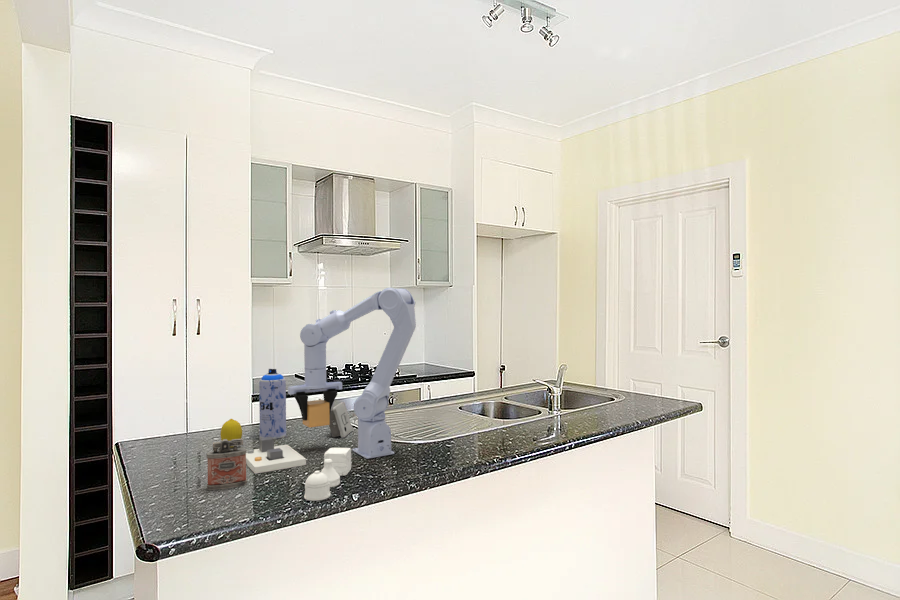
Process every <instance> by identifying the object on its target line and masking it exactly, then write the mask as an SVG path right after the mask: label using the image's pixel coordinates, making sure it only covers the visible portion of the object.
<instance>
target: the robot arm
mask: <svg viewBox="0 0 900 600" xmlns="http://www.w3.org/2000/svg"><path fill="white" fill-rule="evenodd" d="M415 307H416V301H415V299H414V296H413V295H412V293H411V292H410V291H409V289H407V288H403V287H402V288H401V287H399V288H398V287H397V288H396V287H395V288H394V287H386V288H384V289H382V290H380V291H377V292H375V293H373V294H372V295H369V296H368V297H366V298H364V299H363V300H361V301H360V302H358V303H356V304H354V305H353V306H352V307H350V308H348V309H347V310H345V311H343V310H340V309H338V310H337V309H333V310H330V311H329V314H327V316H325V317H322V318H317V319H316V320H315V323H308V324H306V325H304V326H303V327H302V328H301V331H300V333H299V336H300V340H301V343H303V347H304V352H303V353H304V354H303V355H304V384H297V385H290V386H287V394H288V395H293V396H294V399H295V401H296V402H297V403H296V404H297V405H298V407H299V410H300V413H301V419H302V421H303V420H304V421H305V420H307V402H308V401H309V396H308V395H307V393H314V392H315V393H316V392H322V395H323V396H322V397H323V400H324V401H327V402H329V415H330V411H331V409H332V408H333V405H334V402H335V400H336V398H337V396H338V390H343V382H342V381H329V382H328V381H327V343H328V341H329V340H331V339H332V338H334V337H335V336H337V335H340V334H341V333H343V332H345V331H346V330H349V328H350V326H351V323H352V322H354V321H356V320H357V319H360V318H362V317H364V316H366V315H367V314H370V313H372V312H374V311H379V310H381V311H383V312H384V313H385V314H386V315H387V316H388V317H389V318H390V321H391V323H392V325H393V329H392V332H391V334H390V336H389V338H388V341H387V342H386V346H385V348H384V350H383V353H382V355H381V357H380V360H379V361H378V363H377V366H376V368H375V370H374V373H373V376H372V378H371V379H370V382H369V383H368V384H367V386H365V388H364V389H363V391H362V393H361V395H360V396H358V397H357V398H356V399H355V401H354V403H353V412H354V414H355V416H356V417H357V442H358V443H357V447H354V448H352V449H351V451H352V452H354V453H356V454H357V455H359V456H361V457H363V458H365V459H373V458H374V459H375V458H380V457H385V456H389V455H395V451H394V450H392V431H391V430H392V429H391V427H390V425H389V424H387V422H386V413H385V411H386V410H387V409H388V407H389V398H390V394H391V385H392V383H393V380H394V378H395V376H396V373H397V372H398V368H399V367H400V365H401V361H402V360H403V357H404V355H405V353H406V350H407V348H408V346H409V344H410V342H411V339H412V337H413V335H414V332H415V330H416V326H417V322H416V321H417V320H416V313H415V312H416V310H415V309H416V308H415Z"/></svg>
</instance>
